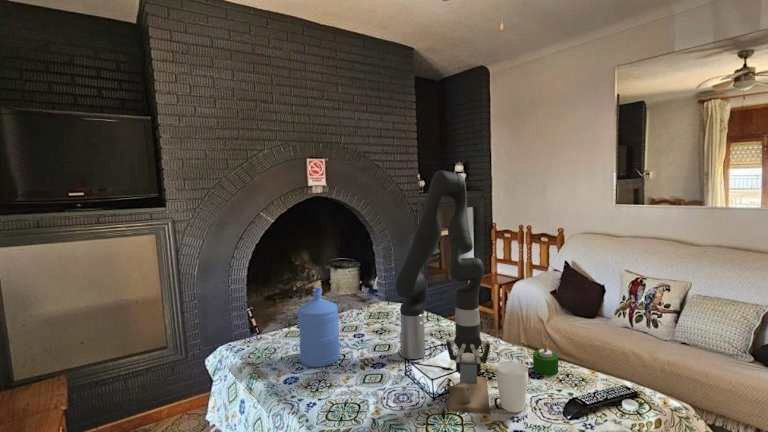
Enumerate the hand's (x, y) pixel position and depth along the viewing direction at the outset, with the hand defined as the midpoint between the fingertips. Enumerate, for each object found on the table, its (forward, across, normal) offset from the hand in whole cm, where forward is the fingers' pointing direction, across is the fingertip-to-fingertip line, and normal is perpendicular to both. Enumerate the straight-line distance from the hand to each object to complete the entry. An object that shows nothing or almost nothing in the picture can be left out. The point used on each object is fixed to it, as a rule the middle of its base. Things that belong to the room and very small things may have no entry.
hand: (468, 372), depth 123 cm
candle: (+7, +27, +20) cm, 34 cm away
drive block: (+1, 0, 0) cm, 1 cm away
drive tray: (+7, 0, 0) cm, 7 cm away
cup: (+7, +13, -5) cm, 16 cm away
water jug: (+7, -57, +18) cm, 60 cm away
